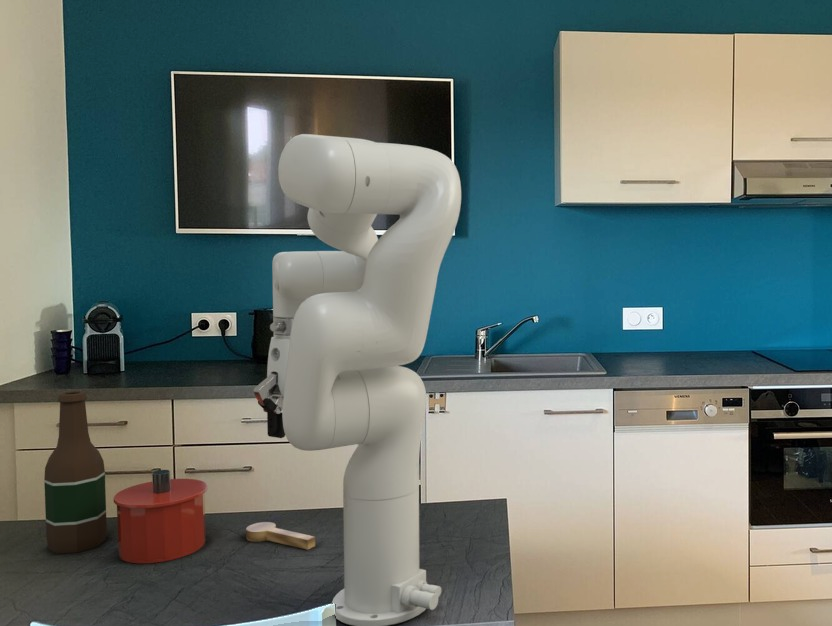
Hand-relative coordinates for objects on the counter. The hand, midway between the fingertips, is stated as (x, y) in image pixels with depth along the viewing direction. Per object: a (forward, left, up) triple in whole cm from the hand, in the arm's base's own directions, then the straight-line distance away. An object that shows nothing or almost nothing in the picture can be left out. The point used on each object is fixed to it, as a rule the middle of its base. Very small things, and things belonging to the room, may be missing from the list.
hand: (299, 430), depth 128 cm
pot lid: (+12, +16, -8) cm, 22 cm away
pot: (+12, +16, -16) cm, 26 cm away
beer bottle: (+25, +21, -17) cm, 37 cm away
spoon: (-1, +6, -16) cm, 17 cm away
